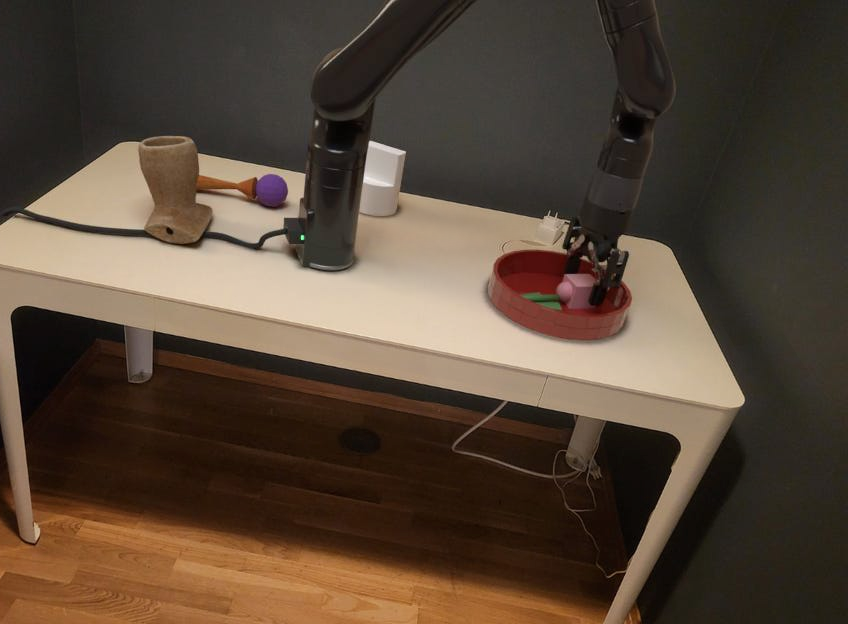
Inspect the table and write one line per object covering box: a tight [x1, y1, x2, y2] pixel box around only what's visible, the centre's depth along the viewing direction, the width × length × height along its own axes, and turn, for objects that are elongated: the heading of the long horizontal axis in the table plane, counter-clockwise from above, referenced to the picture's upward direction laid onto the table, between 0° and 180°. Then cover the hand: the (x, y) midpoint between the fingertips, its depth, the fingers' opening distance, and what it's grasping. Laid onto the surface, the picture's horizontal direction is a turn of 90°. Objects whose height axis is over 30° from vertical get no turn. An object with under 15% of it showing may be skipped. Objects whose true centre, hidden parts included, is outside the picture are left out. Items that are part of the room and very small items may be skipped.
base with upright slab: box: [359, 140, 407, 217], centre depth 144 cm, size 9×9×12 cm
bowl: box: [487, 249, 633, 341], centre depth 121 cm, size 22×22×4 cm
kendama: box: [196, 173, 289, 207], centre depth 140 cm, size 6×6×20 cm
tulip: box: [520, 274, 596, 311], centre depth 121 cm, size 17×6×4 cm, turn 106°
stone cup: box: [137, 135, 214, 245], centre depth 124 cm, size 15×12×15 cm
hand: (581, 291), depth 123 cm, fingers open, 8 cm apart
